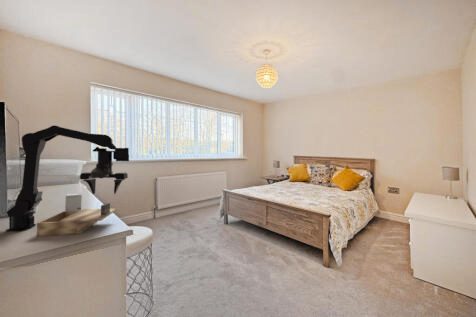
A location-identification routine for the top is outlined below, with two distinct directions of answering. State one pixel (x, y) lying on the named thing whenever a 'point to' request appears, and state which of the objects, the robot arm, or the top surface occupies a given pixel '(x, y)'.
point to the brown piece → (61, 225)
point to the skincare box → (73, 202)
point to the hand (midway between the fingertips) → (104, 193)
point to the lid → (90, 214)
